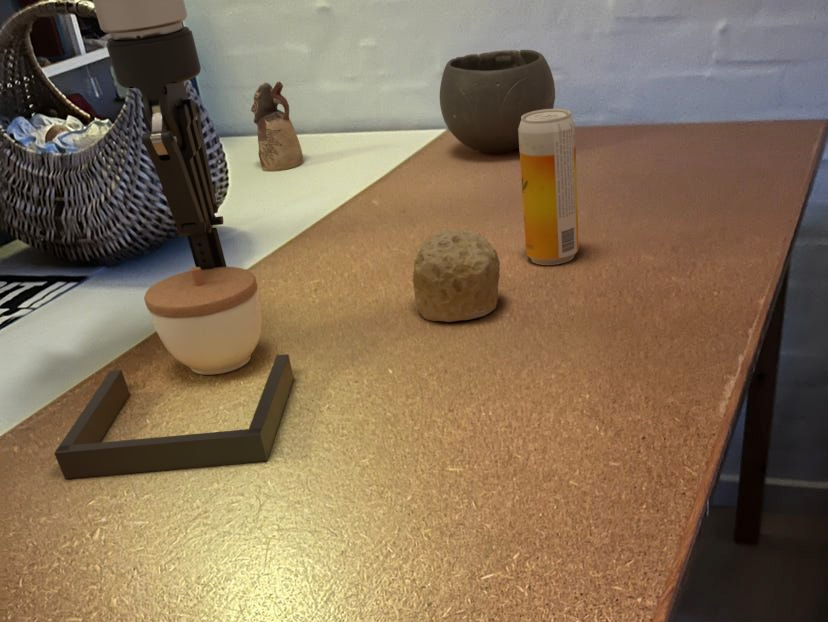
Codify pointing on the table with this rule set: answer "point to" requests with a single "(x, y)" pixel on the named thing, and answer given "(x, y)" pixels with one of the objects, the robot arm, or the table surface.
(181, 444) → the frame
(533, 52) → the bowl
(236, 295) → the trinket box
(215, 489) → the table surface
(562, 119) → the beer can
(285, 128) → the figurine
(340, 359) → the table surface
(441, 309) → the coral
